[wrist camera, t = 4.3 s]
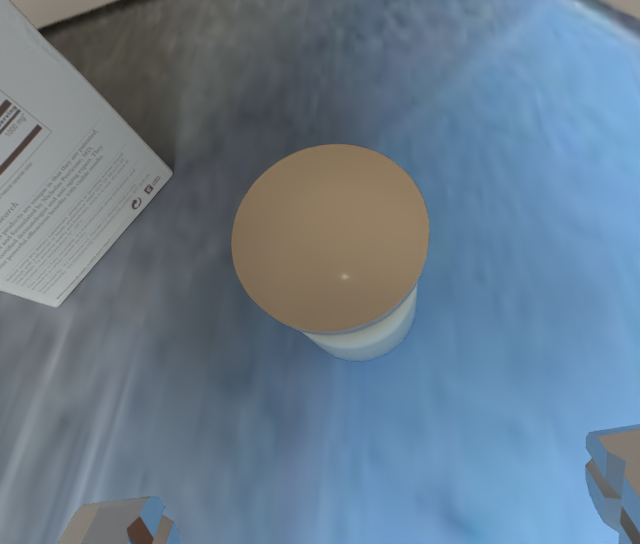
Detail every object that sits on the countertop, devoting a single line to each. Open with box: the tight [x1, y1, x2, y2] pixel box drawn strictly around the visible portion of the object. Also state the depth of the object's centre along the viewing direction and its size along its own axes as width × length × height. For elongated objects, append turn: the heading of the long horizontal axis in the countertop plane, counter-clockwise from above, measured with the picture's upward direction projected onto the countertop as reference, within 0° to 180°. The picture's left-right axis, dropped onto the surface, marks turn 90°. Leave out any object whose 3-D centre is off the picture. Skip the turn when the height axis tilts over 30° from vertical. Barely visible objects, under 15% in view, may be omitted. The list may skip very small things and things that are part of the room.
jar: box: [231, 144, 429, 361], centre depth 16 cm, size 5×5×8 cm
